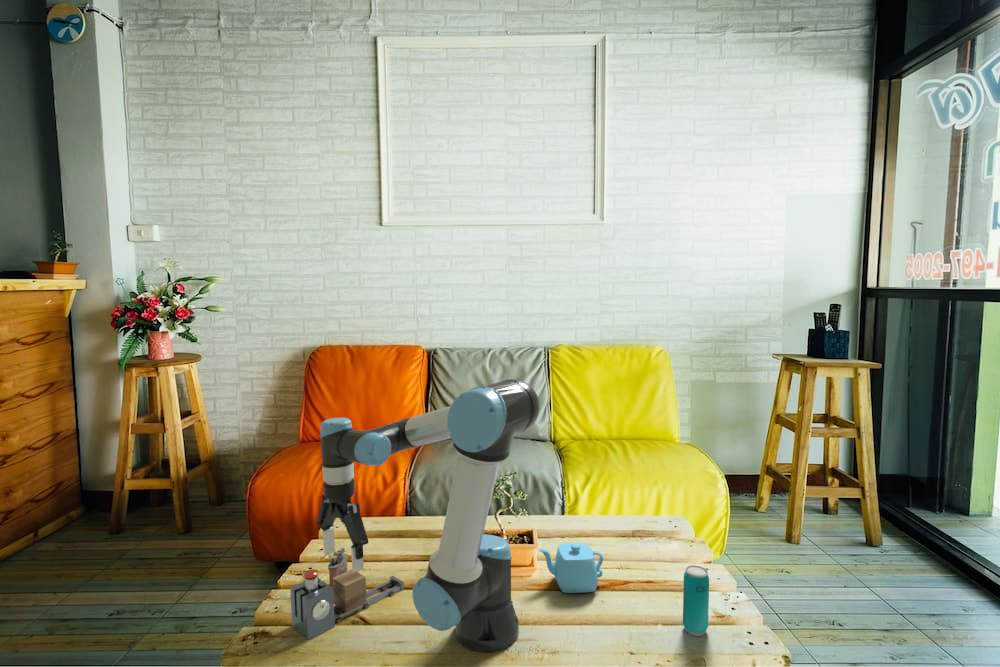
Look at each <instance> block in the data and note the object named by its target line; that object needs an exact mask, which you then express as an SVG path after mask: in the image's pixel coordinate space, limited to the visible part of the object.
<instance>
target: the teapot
mask: <svg viewBox="0 0 1000 667" xmlns="http://www.w3.org/2000/svg"><path fill="white" fill-rule="evenodd" d="M538 551H539V552H541V553H542V554H543V555H544V557H545V562H546V567H547V569H548V571H549V573H551V574H552V575H553V576H554V577H555V578H554V579H555V581H556V583H557V586H558V587H559V589H560V590H561V592H563V593H564V594H577V593H578V594H579V593H580V594H581V593H591V592H593V593H594V592H595V591H596V590H597V587H598V583H599V578H602V575H603V569H601V566H602V564H603V562H604V556H603V554H602V553H601V552H600V551H598V550H592V549H591V547H590V546H589V545H588V543H585V542H576V543H575V542H572V543H560V544H559V545H558V546H557V551H556V555H555V561H554V562H553V560H552V557H551V553H550V552H549V550H547V549H544V548H538ZM595 555H596V556H599V560H598V561H597V562H598V563H597V562H596V560H595V557H594V556H595ZM596 563H597V564H596Z"/></svg>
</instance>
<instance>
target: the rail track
mask: <svg viewBox="0 0 1000 667" xmlns="http://www.w3.org/2000/svg"><path fill="white" fill-rule="evenodd" d="M404 583H405V582H404V581H403V580H401V579H399V578H398V577H397V576H395V575H392V576H390V577H389V580H388V581H385V582H383V583H381V584H379V585H377V586H375V587H372V588H371V589H368V590H366V601H367V603H366V604H363V605H361V606H359V607H357V608H355V609H353V610H351V611H349V612H347V613H345V612H344V611H343V610H341V609H340V608H339V607H337V606H336V605H334V621H335V623H340V622H342V621H343V619H344V618H347V617H348V616H351V615H352V614H354V613H357V612H359V611H361V610H363V609H365V610H366V609H368V607H369V608H370V606H371V605H373V604H375V603H378V602H380V601H382V600H383V598H384V599H386V598H387V597H393V596H395V595H396V593H398V592H399V591H403V590H404V589H405V584H404ZM381 599H382V600H381ZM295 626H296V625H295ZM296 627H297V626H296ZM296 627H295V628H296ZM295 628H294V629H295ZM302 633H303V634H304V632H302ZM302 636H303V637H304V635H302Z"/></svg>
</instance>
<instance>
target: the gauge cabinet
mask: <svg viewBox="0 0 1000 667" xmlns="http://www.w3.org/2000/svg"><path fill="white" fill-rule="evenodd" d="M317 581H318V590H317V591H314V592H312V593H310V594H307V595H306V585H305V581H303V582H300V583H298V584H295V585H293V586H291V587H290V590H289V591H290V606H291V607H290V608H291V609H290V610H291V612H290V613H291V627H292V628H294V629H295V630H296V631H297V632H298V633H299V634H300V635H302V636H303V635H304V636H303V637H304V638H305V639H306V640H307V641H309V640H311V639H313V638H315V637H317V636H320V635H321V634H323V633H326V632H328V631H329V630H331V629H333V628H335V624H336V622H335V621H334V606H335V604H334V596H333V588H332V587H331V586H330V584H329V585H328V584H327V583H326V582H325V581H323V580H322V579H321V578H319V577H318V576H317ZM295 625H296V626H297V627H296V626H295ZM295 627H296V628H295ZM302 632H304V634H303V633H302Z"/></svg>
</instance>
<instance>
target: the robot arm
mask: <svg viewBox="0 0 1000 667" xmlns="http://www.w3.org/2000/svg"><path fill="white" fill-rule="evenodd" d="M540 407H541V406H540V400H539V396H538V394H537V392H536V390H535V389H534V388H533V387H532V386H531V385H530V384H528V383H527V382H525V381H523V380H520V379H514V378H513V379H505V380H502V381H501V380H500V381H498V382H495V383H491V384H488V385H481V386H475V387H472V388H471V389H469V390H467V391H465V392H462V393H461V394H459V395H458V396H457V397H456V398H455V399H454V400H453V401H452V403H451V405H450V406H446V407H445V406H444V407H443V408H439V409H435V410H432V411H429V412H426V413H421V414H418V415H415V416H412V417H406V418H404V419H401V420H398V421H394V422H391V423H388V424H384V425H381V426H378V427H375V428H371V429H367V430H356V429H355V428H354V429H353V425H352V421H351V420H350V419H349V418H347V417H333V418H328V419H325V420H323V421H322V422H321V423H320V437H319V439H320V449H321V462H322V463H321V464H322V481H323V494H322V495H321V505H320V509H319V514H318V517H317V527H319V526H320V528H321V529H320V530H322V539H323V541H322V542H323V555H324V556H325V557H327V556H329V555H332V554H334V553H335V552H336V547H335V529H334V528H333V527H334V523H335V520H336V519H337V518H338V519H339V520H340V522H341V523H343V524H344V527H345V529H346V531H347V534H348V536H349V538H350V541H351V543H352V545H351V546H350V551H351V552H350V553H351V565H352V566H351V568H352V569H351V570H352V572H354V573H355V572H360V571H362V570H364V568H365V567H364V564H365V563H364V546H365V545H368V544H369V538H368V535H367V532H366V528H365V525H364V522H363V519H362V515H361V510H360V504H359V503H353V502H352V497H353V496H354V495H355V493H356V487H355V486H356V484H355V479H354V477H355V473H354V470H355V469H354V468H355V467H354V466H355V464H354V463H357V464H361V465H364V466H373V467H378V466H381V465H383V464H385V463H386V461H387V460H388V459H389V458H390V456H392V455H394V454H397V453H400V452H404V451H405V450H410V449H414V448H417V447H420V446H424V445H429V444H433V443H437V442H442V441H445V440H449V439H451V440H452V442H453V443H452V447H453V450H454V451H455V452H456V453H457V460H456V464H455V469H454V470H455V471H454V473H453V474H454V476H453V480H452V484H451V488H450V489H451V490H450V494H449V500H448V503H447V508H446V514H445V518H444V524H443V528H442V533H441V537H440V538H441V539H440V543H439V548H437V549H436V550H434V551H433V552H432V553H431V554H430V557H429V560H428V564H427V571H426V573H425V575H424V576H423V577H421V578H419V579H418V580H417V581H416V582H415V583H414V584H413V588H412V595H411V596H412V600H413V601H412V602H413V604H414V607H415V609H416V611H417V613H418V615H419V617H420V618H421V619H422V621H424V622H425V624H427V626H429V627H431V628H432V629H434V630H436V631H441V632H442V631H448V630H450V629H452V628H453V627H455V635H456V639H457V642H459V644H461V645H462V646H463V647H464V648H467V649H469V650H470V651H475V652H481V653H482V652H483V653H489V652H498V651H501V650H504V649H505V648H508V647H510V646H511V645H513V643H515V642H516V640H517V639H518V637H519V635H520V634H519V633H520V631H519V630H520V627H519V625H520V624H519V619H518V617H517V615H516V611H515V610H516V609H515V608H514V605H513V604H514V603H513V602H512V558H513V557H512V552H511V545H510V543H509V542H508V541H507V539H504V537H500V536H498V535H493V534H484V532H485V527H486V525H487V524H486V523H487V518H488V514H489V510H490V506H491V502H492V497H493V494H494V488H495V485H496V481H497V475H498V471H499V467H500V464H501V463H503V462H505V461H506V460H507V461H508V458H509V456H510V453H511V452H510V451H511V448H512V445H513V440H514V438H515V436H518V435H519V434H521V433H522V434H523V433H524V432H526V431H527V430H529V429H530V428H531V427H532V426H533V425H534V424H535V423H536V421H537V420H538V417H539V413H540V410H541V408H540Z"/></svg>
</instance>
